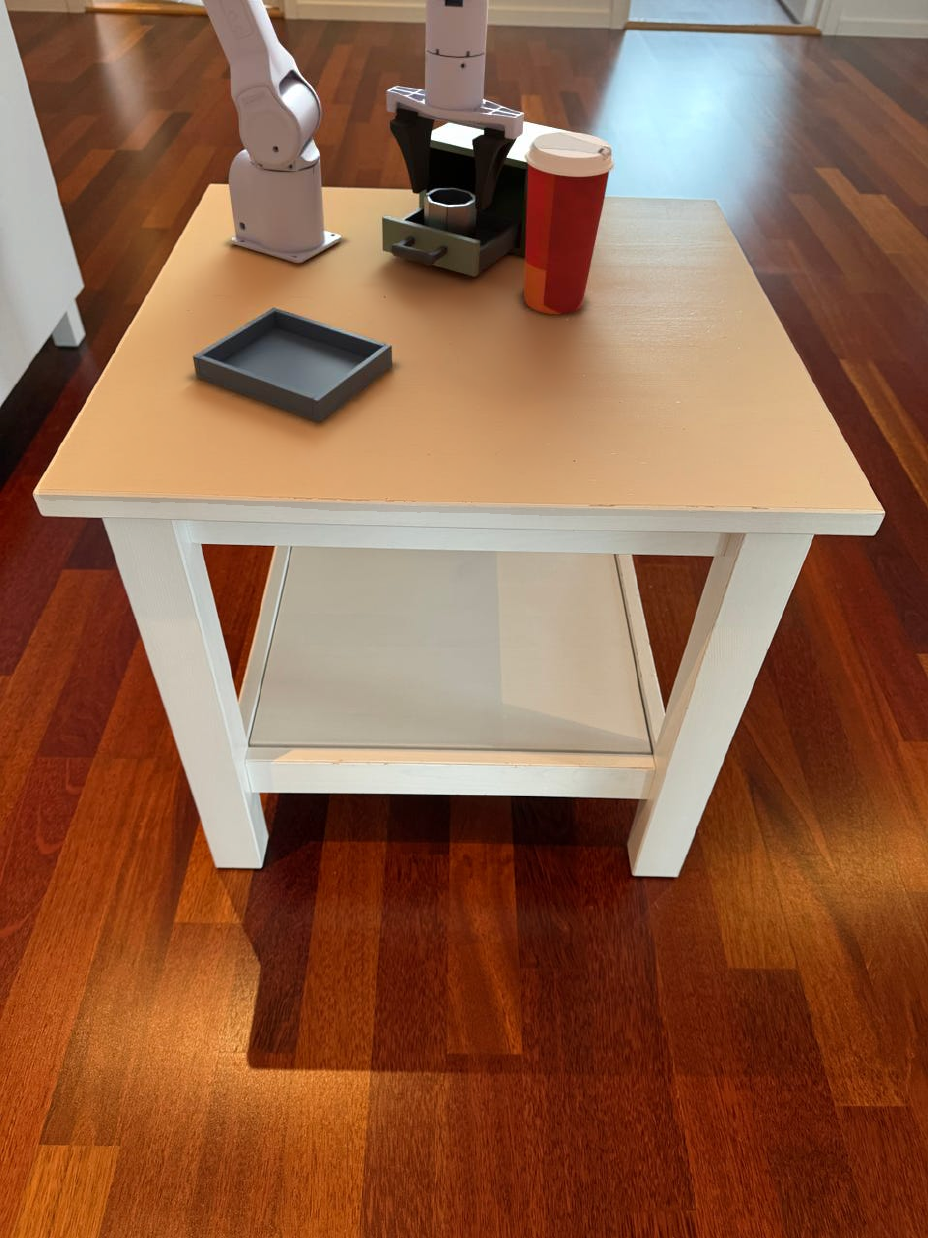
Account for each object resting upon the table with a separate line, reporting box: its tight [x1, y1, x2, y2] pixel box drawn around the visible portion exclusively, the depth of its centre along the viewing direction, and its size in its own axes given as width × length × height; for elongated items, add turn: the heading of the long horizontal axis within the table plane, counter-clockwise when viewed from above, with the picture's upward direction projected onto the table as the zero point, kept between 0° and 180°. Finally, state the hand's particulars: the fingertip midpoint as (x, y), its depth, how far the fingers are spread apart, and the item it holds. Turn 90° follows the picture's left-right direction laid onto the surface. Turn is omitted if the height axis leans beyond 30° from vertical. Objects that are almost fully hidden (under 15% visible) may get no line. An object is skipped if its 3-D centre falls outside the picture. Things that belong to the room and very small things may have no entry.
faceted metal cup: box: [424, 188, 477, 239], centre depth 98 cm, size 5×5×5 cm
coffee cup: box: [523, 131, 615, 315], centre depth 89 cm, size 8×8×15 cm
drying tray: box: [192, 307, 393, 423], centre depth 81 cm, size 13×11×2 cm
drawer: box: [381, 206, 522, 278], centre depth 98 cm, size 11×15×4 cm
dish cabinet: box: [418, 121, 571, 258], centre depth 104 cm, size 14×12×10 cm
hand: (451, 198), depth 96 cm, fingers open, 7 cm apart
